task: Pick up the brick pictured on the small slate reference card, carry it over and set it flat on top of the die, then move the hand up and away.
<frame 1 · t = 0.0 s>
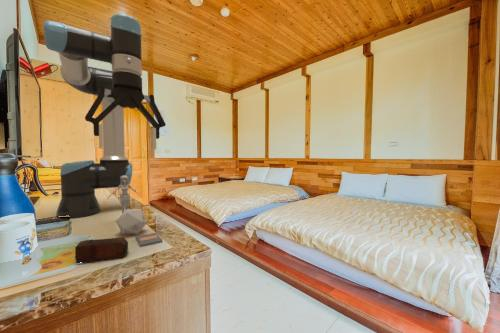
hand: (129, 149, 64), 28 cm above the cabinet, tool pointing down, fingers open, 13 cm apart
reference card: (148, 240, 68), on the cabinet
human figurine: (125, 221, 88), on the cabinet
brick: (103, 259, 56), on the cabinet
die: (132, 233, 74), on the cabinet
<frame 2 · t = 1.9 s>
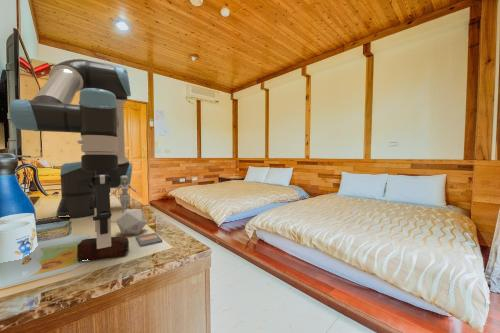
hand: (102, 238, 55), 5 cm above the cabinet, tool pointing down, fingers open, 13 cm apart
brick: (104, 257, 57), on the cabinet
everything else where it was.
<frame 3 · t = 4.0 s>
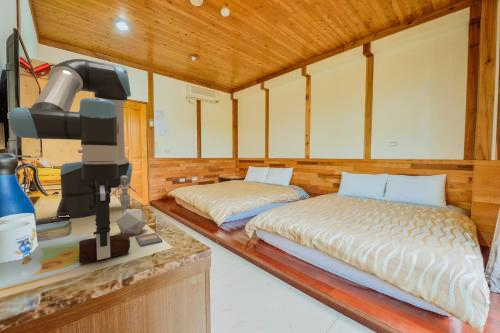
hand: (103, 254, 56), 1 cm above the cabinet, tool pointing down, fingers closed on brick, 4 cm apart
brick: (105, 256, 56), on the cabinet, touching gripper
everything else where it was.
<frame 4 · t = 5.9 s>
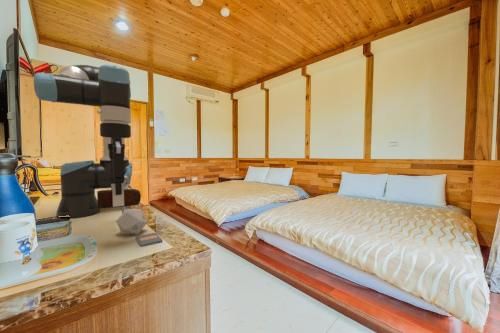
hand: (117, 204, 64), 12 cm above the cabinet, tool pointing down, fingers closed on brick, 4 cm apart
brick: (119, 206, 65), point 11 cm above the cabinet, touching gripper
everything else where it was.
when the fingers open (9 cm above the cabinet, at t = 7.6 s): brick stays where it is, resting on die.
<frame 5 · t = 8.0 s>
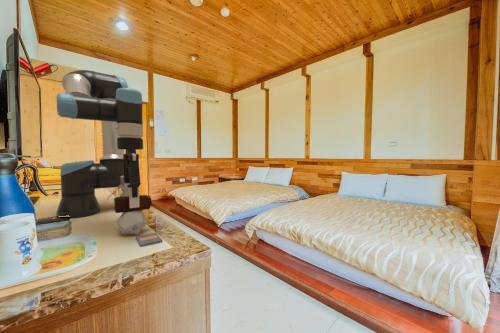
hand: (131, 204, 73), 10 cm above the cabinet, tool pointing down, fingers open, 10 cm apart
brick: (133, 210, 74), point 7 cm above the cabinet, touching die
die: (132, 233, 74), on the cabinet, touching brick
everything else where it was.
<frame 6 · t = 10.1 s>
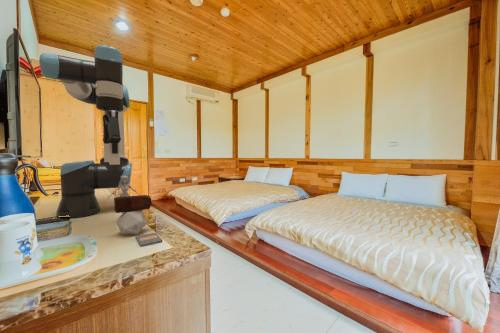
hand: (111, 163, 73), 23 cm above the cabinet, tool pointing down, fingers open, 13 cm apart
nothing on the cabinet moved.
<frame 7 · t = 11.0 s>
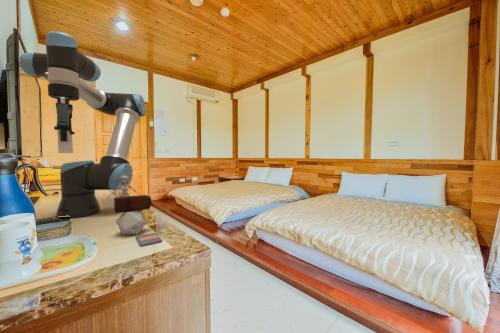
hand: (66, 153, 71), 27 cm above the cabinet, tool pointing down, fingers open, 13 cm apart
nothing on the cabinet moved.
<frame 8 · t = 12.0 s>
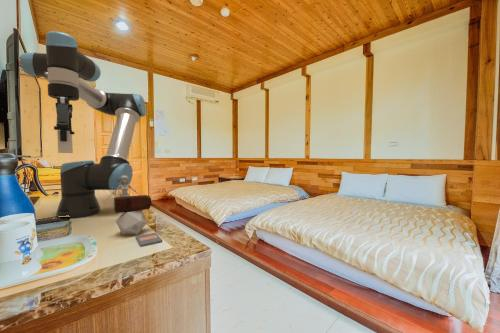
hand: (66, 153, 70), 27 cm above the cabinet, tool pointing down, fingers open, 13 cm apart
nothing on the cabinet moved.
at the end: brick inside the target area on the die (0.4 cm from its centre), point 7.7 cm above the die's base; the gripper is holding nothing; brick tilted 0° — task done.
